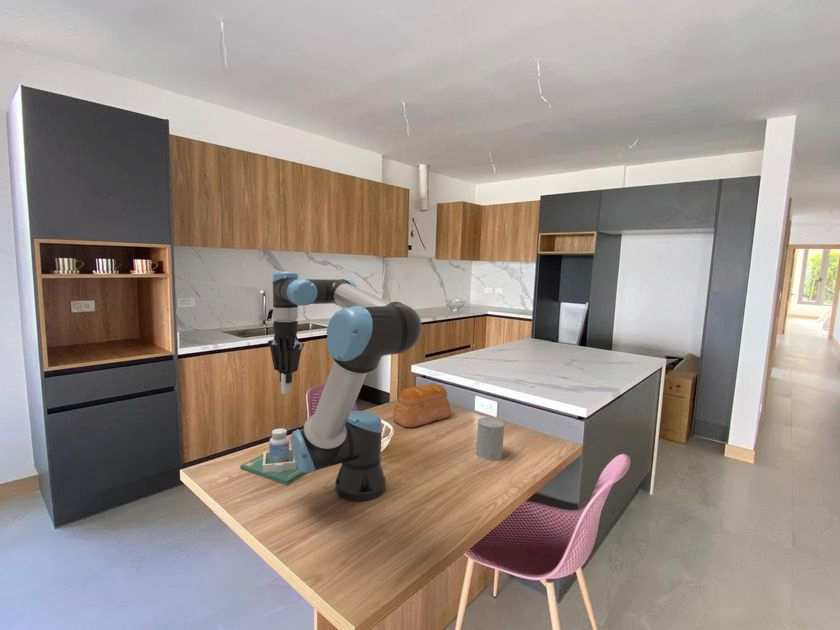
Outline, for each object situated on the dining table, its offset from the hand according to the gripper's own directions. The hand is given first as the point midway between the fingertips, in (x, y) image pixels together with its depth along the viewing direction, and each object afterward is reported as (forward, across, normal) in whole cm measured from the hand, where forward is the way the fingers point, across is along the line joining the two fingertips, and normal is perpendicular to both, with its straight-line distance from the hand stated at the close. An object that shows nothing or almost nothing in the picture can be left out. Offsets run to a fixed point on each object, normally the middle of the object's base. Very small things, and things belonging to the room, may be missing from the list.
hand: (285, 392), depth 137 cm
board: (+25, +2, +1) cm, 25 cm away
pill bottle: (+24, +2, +1) cm, 24 cm away
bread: (+25, -21, -62) cm, 71 cm away
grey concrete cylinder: (+26, -57, -42) cm, 76 cm away
